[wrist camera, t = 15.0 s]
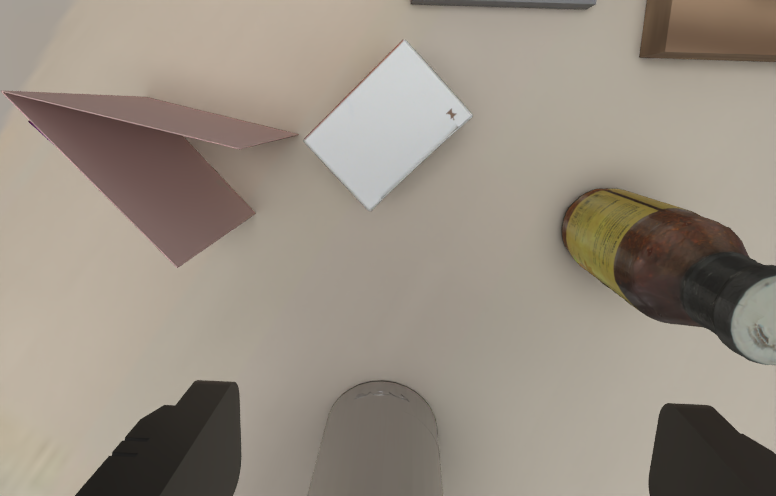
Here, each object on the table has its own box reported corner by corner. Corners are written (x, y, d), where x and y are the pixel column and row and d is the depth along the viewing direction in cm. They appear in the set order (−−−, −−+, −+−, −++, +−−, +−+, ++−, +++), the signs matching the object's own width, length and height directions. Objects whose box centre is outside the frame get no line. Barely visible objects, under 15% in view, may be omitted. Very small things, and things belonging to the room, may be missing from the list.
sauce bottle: (562, 272, 43) (688, 405, 24) (554, 191, 42) (682, 263, 22) (649, 259, 42) (851, 384, 23) (645, 177, 41) (855, 238, 22)
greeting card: (137, 105, 41) (-11, 103, 26) (207, 33, 40) (91, -11, 25) (247, 220, 43) (165, 279, 28) (318, 155, 41) (270, 181, 27)
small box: (406, 52, 40) (406, 33, 29) (459, 112, 40) (477, 114, 30) (325, 132, 41) (298, 139, 31) (378, 188, 42) (369, 213, 32)
